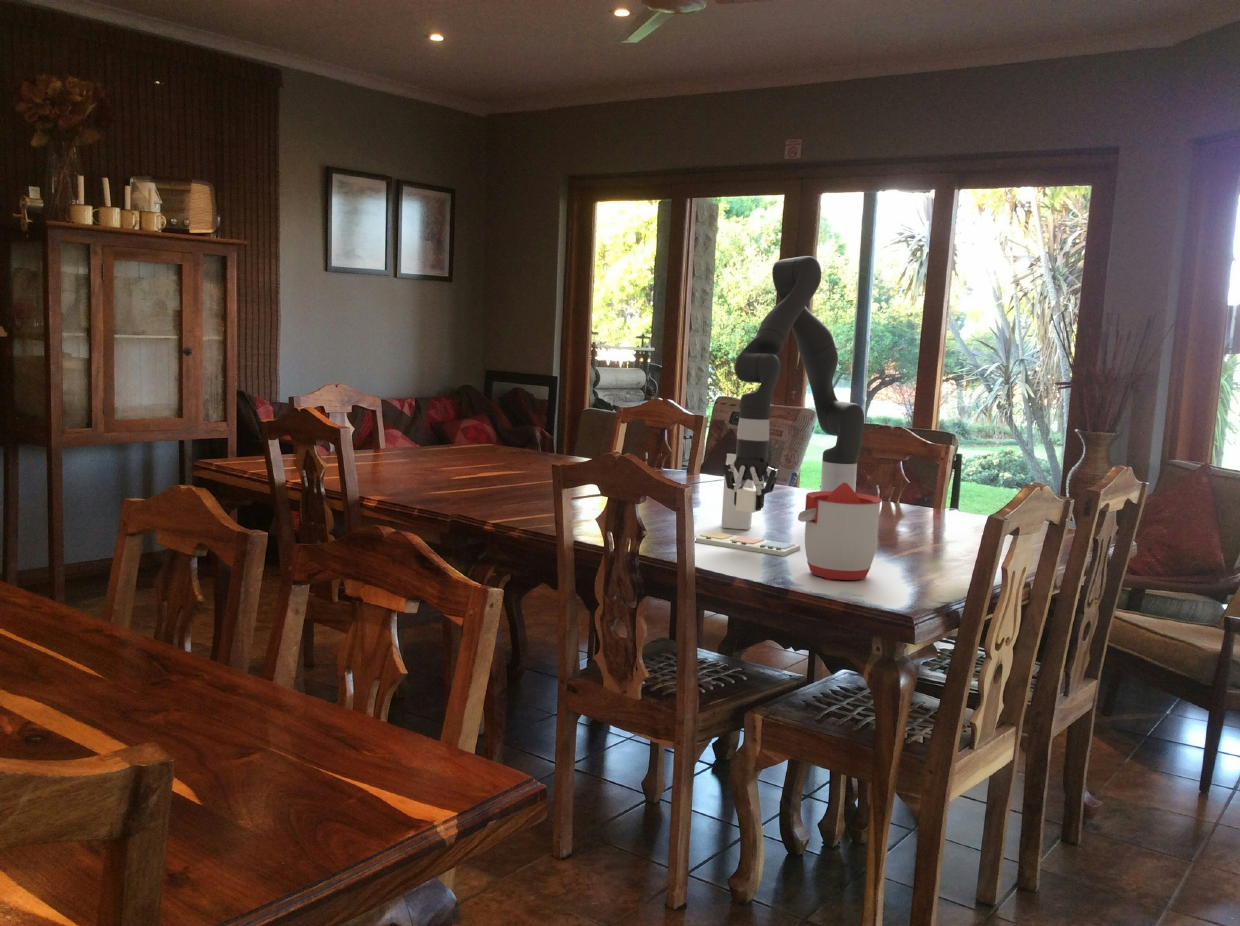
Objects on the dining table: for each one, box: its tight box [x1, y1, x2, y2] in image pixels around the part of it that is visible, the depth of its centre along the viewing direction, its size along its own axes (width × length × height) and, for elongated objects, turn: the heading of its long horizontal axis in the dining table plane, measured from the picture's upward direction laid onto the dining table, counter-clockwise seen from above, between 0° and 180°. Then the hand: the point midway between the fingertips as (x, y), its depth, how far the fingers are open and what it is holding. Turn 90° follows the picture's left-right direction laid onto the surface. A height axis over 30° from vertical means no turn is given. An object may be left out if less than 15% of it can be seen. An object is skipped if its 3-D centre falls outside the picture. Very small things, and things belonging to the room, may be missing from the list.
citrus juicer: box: [797, 482, 883, 581], centre depth 226 cm, size 16×17×20 cm
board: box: [695, 531, 801, 557], centre depth 255 cm, size 10×24×1 cm, turn 59°
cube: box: [736, 488, 762, 513], centre depth 255 cm, size 4×4×5 cm
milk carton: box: [721, 453, 755, 531], centre depth 278 cm, size 7×7×19 cm
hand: (748, 508), depth 255 cm, fingers closed on cube, 4 cm apart
